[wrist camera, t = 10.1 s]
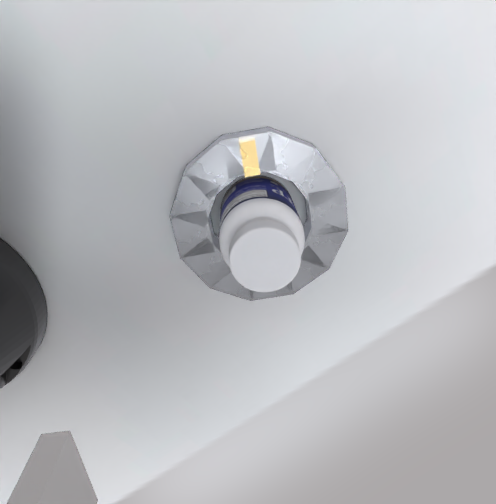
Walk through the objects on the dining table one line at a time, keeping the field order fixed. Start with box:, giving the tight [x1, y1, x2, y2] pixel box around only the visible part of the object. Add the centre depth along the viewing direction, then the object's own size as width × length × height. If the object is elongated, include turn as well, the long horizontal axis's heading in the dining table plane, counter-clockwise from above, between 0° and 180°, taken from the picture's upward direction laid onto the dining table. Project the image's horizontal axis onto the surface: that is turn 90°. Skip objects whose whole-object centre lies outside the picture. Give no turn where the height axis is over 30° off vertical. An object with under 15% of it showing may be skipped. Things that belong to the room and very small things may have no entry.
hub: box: [170, 127, 348, 301], centre depth 31 cm, size 12×12×3 cm
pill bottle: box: [219, 176, 305, 292], centre depth 28 cm, size 5×5×9 cm
